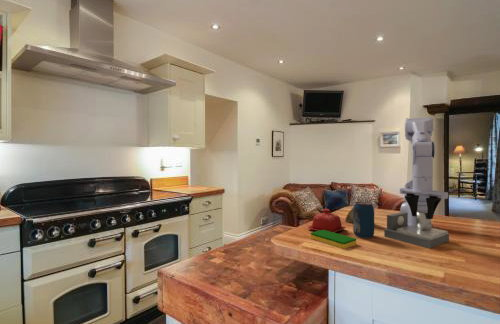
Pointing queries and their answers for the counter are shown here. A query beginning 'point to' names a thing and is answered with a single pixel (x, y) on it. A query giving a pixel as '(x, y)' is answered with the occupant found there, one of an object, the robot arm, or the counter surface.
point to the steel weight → (423, 221)
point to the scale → (402, 220)
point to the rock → (351, 215)
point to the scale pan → (422, 232)
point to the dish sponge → (333, 239)
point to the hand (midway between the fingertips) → (422, 217)
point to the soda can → (363, 219)
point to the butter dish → (326, 222)
